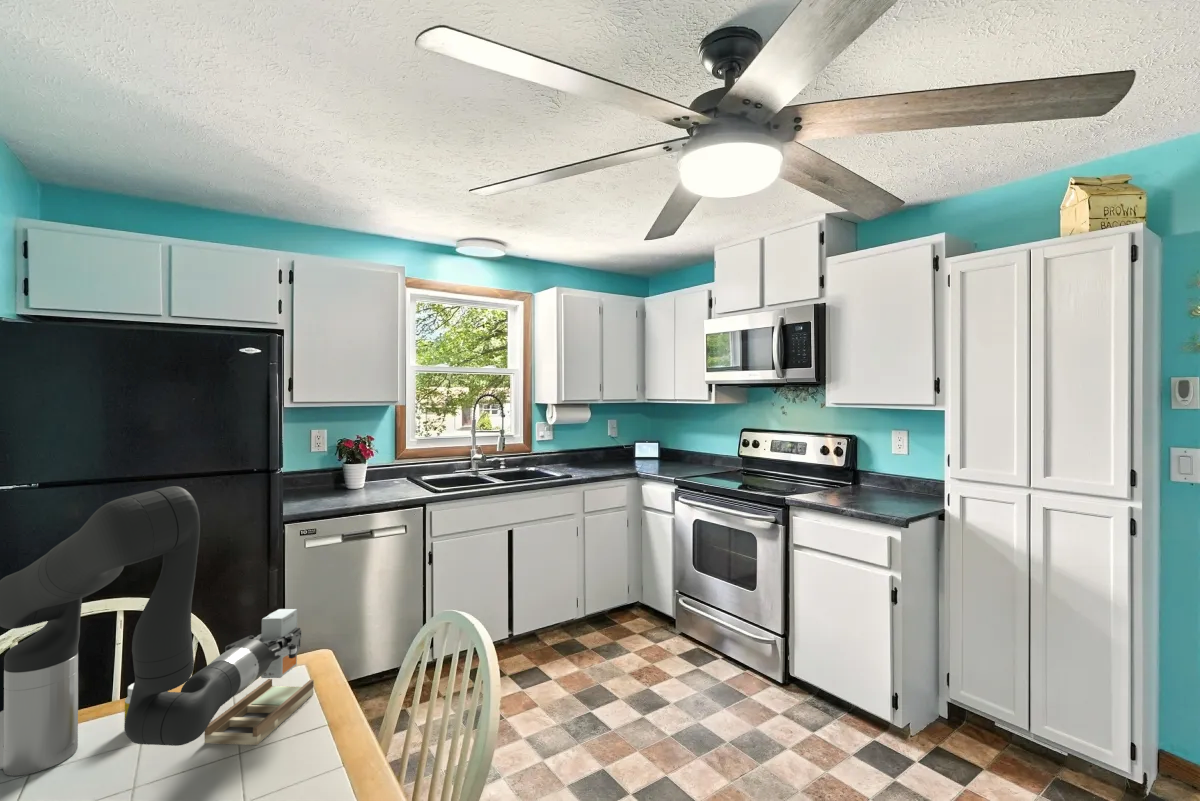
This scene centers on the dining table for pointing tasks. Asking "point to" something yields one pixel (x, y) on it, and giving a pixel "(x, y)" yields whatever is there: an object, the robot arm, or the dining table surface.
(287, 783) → the dining table surface
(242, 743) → the board
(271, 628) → the skincare box
